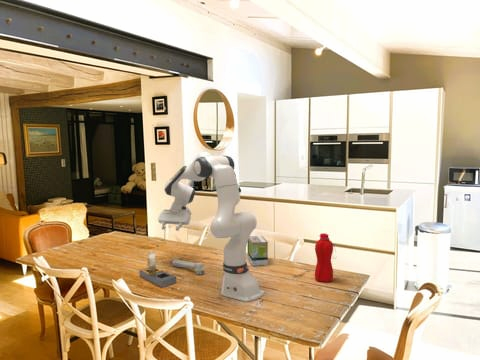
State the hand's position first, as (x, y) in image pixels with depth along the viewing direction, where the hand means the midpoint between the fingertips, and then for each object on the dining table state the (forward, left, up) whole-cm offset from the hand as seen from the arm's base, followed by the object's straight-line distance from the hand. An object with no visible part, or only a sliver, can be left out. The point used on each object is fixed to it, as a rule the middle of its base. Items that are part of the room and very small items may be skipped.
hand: (169, 229), depth 215 cm
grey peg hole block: (-10, +16, -23) cm, 30 cm away
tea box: (-31, -42, -24) cm, 57 cm away
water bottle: (-77, -46, -24) cm, 93 cm away
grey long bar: (-10, -5, -24) cm, 26 cm away
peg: (-4, +16, -23) cm, 28 cm away
